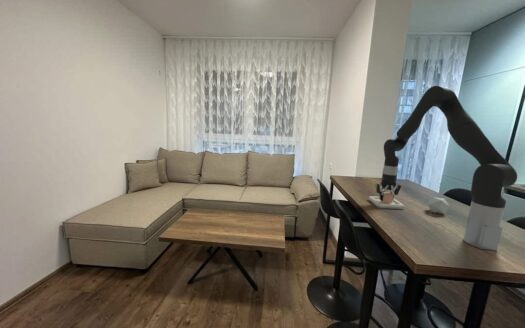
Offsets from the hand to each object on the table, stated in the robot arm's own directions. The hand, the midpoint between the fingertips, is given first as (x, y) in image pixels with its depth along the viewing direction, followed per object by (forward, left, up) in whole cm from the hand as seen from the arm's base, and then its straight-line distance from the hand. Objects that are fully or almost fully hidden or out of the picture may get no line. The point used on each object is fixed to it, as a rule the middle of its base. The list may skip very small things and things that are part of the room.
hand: (386, 200), depth 132 cm
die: (-8, -24, -3) cm, 25 cm away
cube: (0, 0, 0) cm, 0 cm away
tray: (0, 0, -2) cm, 2 cm away
